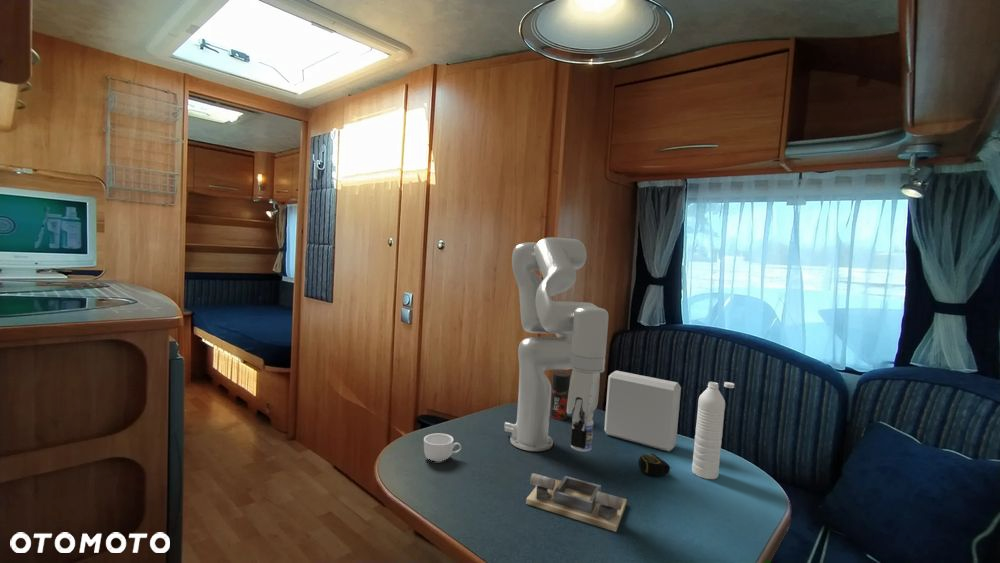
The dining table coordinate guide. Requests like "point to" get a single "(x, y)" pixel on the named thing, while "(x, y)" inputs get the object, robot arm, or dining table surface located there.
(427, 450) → the teacup
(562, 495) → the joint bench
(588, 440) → the pill bottle
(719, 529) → the dining table surface
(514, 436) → the robot arm
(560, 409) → the deodorant
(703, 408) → the water bottle
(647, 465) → the tape measure
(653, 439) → the bevelled white case
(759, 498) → the dining table surface
